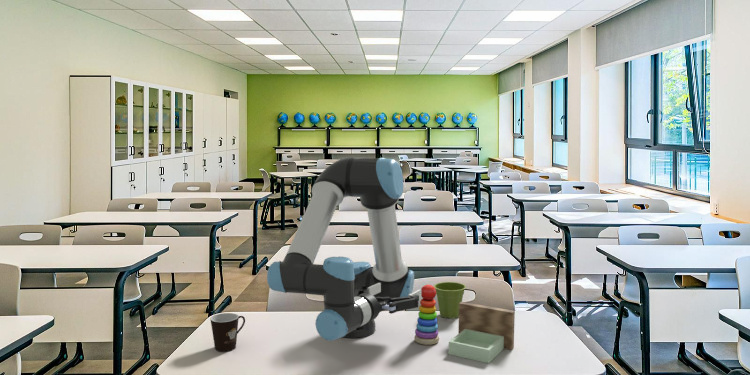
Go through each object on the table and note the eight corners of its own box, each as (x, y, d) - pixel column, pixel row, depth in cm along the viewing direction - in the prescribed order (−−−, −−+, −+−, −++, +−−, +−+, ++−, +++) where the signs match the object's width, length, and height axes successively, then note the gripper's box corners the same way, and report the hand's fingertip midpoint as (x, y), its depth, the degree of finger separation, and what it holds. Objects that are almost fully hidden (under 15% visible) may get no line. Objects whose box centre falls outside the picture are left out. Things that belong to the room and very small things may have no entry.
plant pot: (447, 308, 219) (447, 279, 218) (472, 316, 210) (472, 286, 209) (426, 315, 211) (426, 285, 210) (451, 323, 202) (451, 292, 201)
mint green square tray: (448, 354, 175) (448, 341, 174) (464, 340, 186) (465, 328, 185) (489, 363, 168) (489, 350, 168) (503, 348, 179) (503, 336, 179)
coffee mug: (214, 355, 174) (213, 323, 173) (208, 345, 182) (207, 315, 181) (252, 348, 179) (251, 317, 178) (244, 339, 187) (244, 310, 186)
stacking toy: (432, 347, 180) (432, 290, 178) (410, 342, 184) (410, 286, 182) (443, 339, 187) (443, 284, 185) (421, 335, 191) (421, 280, 189)
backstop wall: (458, 338, 188) (458, 303, 186) (460, 336, 189) (461, 301, 188) (511, 349, 178) (512, 312, 177) (513, 347, 180) (514, 310, 179)
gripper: (322, 315, 156) (363, 296, 174) (402, 332, 143) (438, 310, 161) (322, 289, 155) (363, 272, 174) (402, 303, 143) (438, 284, 161)
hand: (399, 290), depth 167 cm, fingers open, 13 cm apart
